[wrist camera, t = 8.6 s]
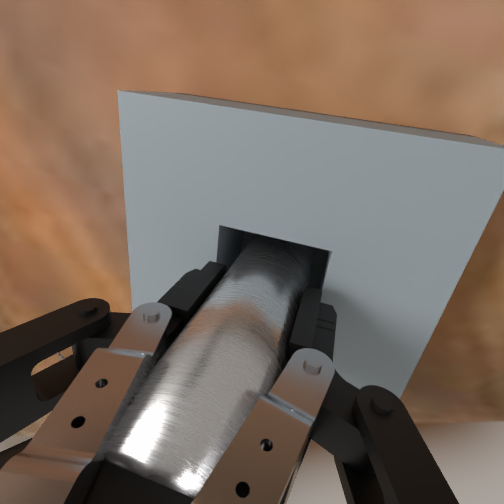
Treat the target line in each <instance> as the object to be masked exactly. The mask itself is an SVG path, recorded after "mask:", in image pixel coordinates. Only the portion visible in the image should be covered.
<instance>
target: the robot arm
mask: <svg viewBox="0 0 504 504" xmlns="http://www.w3.org/2000/svg"><path fill="white" fill-rule="evenodd" d="M226 272H227V266H226V265H224V264H220V263H216V262H213V261H209V262H208V263H207V264H206V265H205V266H204V267H203V268H202V269H201V270H199V269H194V270H191V271H189V272H187V273H185V274H184V275H183V276H182V277H181V278H180V279H179V281H177V282H176V283H175V284H174V286H172V287H171V288H170V289H169V290H168V291H167V292H166V293H165V294H164V295H163V296H162V297H161V298H160V299H159V300H158V301H157V302H151V303H145V304H142V305H140V306H138V307H136V308H135V309H134V310H133V311H132V313H116V312H110V305H109V303H108V302H106V301H105V300H102V299H98V298H89V299H84V300H80V301H77V302H75V303H73V304H70V305H68V306H65V307H63V308H60V309H58V310H55V311H53V312H50V313H48V314H46V315H43V316H41V317H38V318H36V319H33V320H31V321H28V322H26V323H23V324H21V325H19V326H16V327H14V328H11V329H9V330H6V331H4V332H1V333H0V442H2V441H4V440H5V439H7V438H9V437H10V436H12V435H14V434H15V433H17V432H18V431H20V430H22V429H23V428H25V427H26V426H28V425H30V424H31V423H33V422H35V421H36V420H38V419H39V418H41V417H43V416H44V415H46V414H47V413H49V412H51V411H52V412H51V413H50V414H49V416H48V417H47V419H46V420H45V421H44V423H43V424H42V426H41V427H40V429H39V430H38V431H37V433H36V434H35V436H34V437H33V438H31V439H28V440H27V441H24V442H22V443H20V444H17V445H15V446H13V447H11V448H8V449H6V450H4V451H2V452H0V504H286V502H287V500H288V497H289V495H290V492H291V489H292V486H293V484H294V481H295V479H296V476H297V474H298V471H299V469H300V466H301V464H302V461H303V459H304V456H305V454H306V451H307V449H308V447H309V444H310V442H311V439H312V440H313V441H315V442H316V443H318V444H319V445H320V446H322V447H323V448H324V449H326V450H327V451H328V452H330V453H331V454H333V455H334V460H335V464H336V467H337V471H338V474H339V477H340V481H341V484H342V488H343V491H344V495H345V498H346V501H347V504H459V503H458V501H457V499H456V497H455V495H454V494H453V492H452V490H451V488H450V487H449V485H448V483H447V481H446V480H445V478H444V476H443V474H442V472H441V471H440V469H439V467H438V465H437V463H436V461H435V460H434V458H433V456H432V454H431V453H430V451H429V449H428V447H427V445H426V444H425V442H424V440H423V438H422V437H421V435H420V433H419V431H418V429H417V427H416V426H415V424H414V422H413V420H412V419H411V417H410V415H409V413H408V411H407V410H406V408H405V406H404V404H403V403H402V401H401V400H400V399H399V398H398V397H397V396H396V395H395V394H393V393H392V392H391V391H389V390H387V389H385V388H383V387H380V386H376V385H367V386H364V387H362V388H361V389H358V388H357V387H355V386H353V385H352V384H350V383H348V382H347V381H346V380H344V379H343V378H342V377H341V376H340V375H339V374H338V372H337V371H336V369H335V367H334V364H333V353H334V342H335V331H336V322H337V313H336V311H335V309H334V307H333V305H329V304H325V303H321V302H320V301H321V296H322V290H320V289H316V288H312V287H308V286H305V289H304V292H303V296H302V299H301V303H300V306H299V310H298V313H297V317H296V320H295V324H294V328H293V331H292V335H291V338H290V342H289V346H288V350H287V355H286V358H287V365H286V367H285V368H284V370H283V371H282V373H281V375H280V376H279V378H278V379H277V381H276V383H275V384H274V386H273V387H272V389H271V391H270V392H269V394H268V395H267V394H265V393H264V394H263V395H262V396H261V397H260V398H259V400H258V401H257V403H256V404H255V406H254V407H253V409H252V410H251V412H250V414H249V415H248V417H247V418H246V420H245V421H244V423H243V424H242V426H241V427H240V429H239V431H238V432H237V434H236V435H235V437H234V438H233V440H232V441H231V443H230V445H229V446H228V448H227V449H226V451H225V452H224V454H223V455H222V457H221V458H220V460H219V462H218V463H217V465H216V466H215V468H214V469H213V471H212V472H211V474H210V475H209V477H208V479H207V480H206V482H205V483H204V485H203V486H202V488H201V489H200V491H199V492H198V494H197V496H196V497H195V499H194V498H191V497H189V496H187V495H184V494H182V493H180V492H177V491H175V490H173V489H171V488H168V487H166V486H164V485H161V484H159V483H157V482H154V481H152V480H150V479H147V478H145V477H143V476H140V475H138V474H136V473H133V472H131V471H129V470H126V469H124V468H122V467H119V466H117V465H115V464H112V463H110V462H108V461H106V460H103V459H104V450H105V448H106V446H107V444H108V442H109V440H110V439H111V437H112V435H113V433H114V432H115V430H116V428H117V426H118V424H119V423H120V421H121V419H122V417H123V416H124V414H125V412H126V410H127V409H128V407H129V404H130V402H131V400H132V399H133V397H134V396H135V395H136V394H137V392H138V390H139V389H140V387H141V385H142V384H143V382H144V381H145V379H146V378H147V376H148V375H149V373H150V372H151V370H152V369H153V368H154V366H155V365H156V364H157V362H158V361H159V360H160V359H161V357H162V356H163V355H164V353H165V352H166V351H167V349H168V348H169V347H170V345H171V344H172V343H173V341H174V340H175V339H176V338H177V336H178V335H179V334H180V332H181V331H182V330H183V328H184V327H185V326H186V324H187V323H188V322H189V321H190V319H191V318H192V317H193V315H194V314H195V313H196V311H197V310H198V309H199V307H200V306H201V305H202V303H203V302H204V301H205V300H206V298H207V297H208V296H209V294H210V293H211V292H212V290H213V289H214V288H215V286H216V285H217V284H218V283H219V281H220V280H221V279H222V277H223V276H224V275H225V273H226ZM70 346H72V350H73V355H71V356H69V357H67V358H65V359H63V360H61V361H59V362H57V363H55V364H54V365H52V366H50V367H48V368H46V369H44V370H42V371H40V372H38V373H36V374H34V375H32V376H31V372H32V369H33V368H34V367H35V365H36V364H38V363H39V362H41V361H42V360H44V359H46V358H48V357H50V356H52V355H54V354H56V353H58V352H60V351H62V350H64V349H66V348H68V347H70Z"/></svg>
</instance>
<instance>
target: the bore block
mask: <svg viewBox="0 0 504 504" xmlns="http://www.w3.org/2000/svg"><path fill="white" fill-rule="evenodd" d="M117 91H118V106H119V120H120V135H121V149H122V164H123V178H124V193H125V208H126V222H127V237H128V251H129V266H130V280H131V295H132V309H133V310H134V309H135V308H136V307H138V306H140V305H142V304H145V303H151V302H157V301H158V300H159V299H160V298H161V297H162V296H163V295H164V294H165V293H166V292H167V291H168V290H169V289H170V288H171V287H172V286H174V284H175V283H176V282H177V281H179V279H180V278H181V277H182V276H183V275H184V274H185V273H187V272H189V271H191V270H194V269H199V270H201V269H202V268H203V267H204V266H205V265H206V264H207V263H208V262H209V261H213V262H216V263H220V264H224V265H226V266H227V271H228V269H229V268H230V267H231V266H232V264H233V263H234V262H235V260H236V259H237V258H238V256H239V255H240V254H241V252H242V251H243V250H244V248H245V247H246V246H247V245H248V243H249V242H250V241H251V239H252V238H253V237H254V235H256V234H260V235H264V236H269V237H273V238H277V239H281V240H286V241H290V242H294V243H299V244H303V245H307V246H311V247H312V249H313V252H314V267H313V271H312V275H311V279H310V282H309V286H308V287H312V288H316V289H320V290H322V296H321V301H320V302H321V303H325V304H329V305H333V307H334V309H335V311H336V313H337V322H336V331H335V342H334V353H333V364H334V367H335V369H336V371H337V372H338V374H339V375H340V376H341V377H342V378H343V379H344V380H346V381H347V382H348V383H350V384H352V385H353V386H355V387H357V388H358V389H361V388H362V387H364V386H367V385H376V386H380V387H383V388H385V389H387V390H389V391H391V392H392V393H393V394H395V395H396V396H397V397H398V398H399V399H400V397H401V395H402V393H403V391H404V389H405V387H406V385H407V383H408V381H409V379H410V377H411V375H412V373H413V371H414V369H415V367H416V365H417V363H418V361H419V359H420V357H421V355H422V353H423V351H424V349H425V347H426V345H427V343H428V341H429V339H430V337H431V335H432V333H433V331H434V329H435V327H436V325H437V323H438V321H439V319H440V317H441V315H442V313H443V311H444V309H445V307H446V305H447V303H448V301H449V299H450V297H451V295H452V293H453V291H454V289H455V287H456V285H457V283H458V281H459V279H460V277H461V275H462V273H463V271H464V269H465V267H466V265H467V263H468V261H469V259H470V257H471V255H472V253H473V251H474V249H475V247H476V245H477V243H478V241H479V239H480V237H481V235H482V233H483V231H484V229H485V227H486V225H487V223H488V221H489V219H490V217H491V215H492V213H493V211H494V209H495V207H496V205H497V203H498V201H499V199H500V197H501V195H502V193H503V191H504V146H503V145H500V144H497V143H494V142H490V141H487V140H484V139H481V138H477V137H474V136H470V135H464V134H457V133H450V132H443V131H436V130H429V129H423V128H416V127H409V126H402V125H395V124H388V123H382V122H375V121H368V120H361V119H354V118H347V117H340V116H334V115H327V114H320V113H313V112H306V111H299V110H293V109H286V108H279V107H272V106H265V105H258V104H252V103H245V102H238V101H231V100H224V99H217V98H210V97H204V96H197V95H190V94H183V93H168V92H145V91H122V90H117Z"/></svg>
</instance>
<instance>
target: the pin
mask: <svg viewBox="0 0 504 504" xmlns="http://www.w3.org/2000/svg"><path fill="white" fill-rule="evenodd" d="M313 267H314V252H313V249H312V247H311V246H307V245H303V244H299V243H294V242H290V241H286V240H281V239H277V238H273V237H269V236H264V235H260V234H256V235H254V237H253V238H252V239H251V241H250V242H249V243H248V245H247V246H246V247H245V248H244V250H243V251H242V252H241V254H240V255H239V256H238V258H237V259H236V260H235V262H234V263H233V264H232V266H231V267H230V268H229V269H228V271H227V272H226V273H225V275H224V276H223V277H222V279H221V280H220V281H219V283H218V284H217V285H216V286H215V288H214V289H213V290H212V292H211V293H210V294H209V296H208V297H207V298H206V300H205V301H204V302H203V303H202V305H201V306H200V307H199V309H198V310H197V311H196V313H195V314H194V315H193V317H192V318H191V319H190V321H189V322H188V323H187V324H186V326H185V327H184V328H183V330H182V331H181V332H180V334H179V335H178V336H177V338H176V339H175V340H174V341H173V343H172V344H171V345H170V347H169V348H168V349H167V351H166V352H165V353H164V355H163V356H162V357H161V359H160V360H159V361H158V362H157V364H156V365H155V366H154V368H153V369H152V370H151V372H150V373H149V375H148V376H147V378H146V379H145V381H144V382H143V384H142V385H141V387H140V389H139V390H138V392H137V394H136V395H135V396H134V397H133V399H132V400H131V402H130V404H129V407H128V409H127V410H126V412H125V414H124V416H123V417H122V419H121V421H120V423H119V424H118V426H117V428H116V430H115V432H114V433H113V435H112V437H111V439H110V440H109V442H108V444H107V446H106V448H105V450H104V459H103V460H106V461H108V462H110V463H112V464H115V465H117V466H119V467H122V468H124V469H126V470H129V471H131V472H133V473H136V474H138V475H140V476H143V477H145V478H147V479H150V480H152V481H154V482H157V483H159V484H161V485H164V486H166V487H168V488H171V489H173V490H175V491H177V492H180V493H182V494H184V495H187V496H189V497H191V498H194V499H195V497H196V496H197V494H198V492H199V491H200V489H201V488H202V486H203V485H204V483H205V482H206V480H207V479H208V477H209V475H210V474H211V472H212V471H213V469H214V468H215V466H216V465H217V463H218V462H219V460H220V458H221V457H222V455H223V454H224V452H225V451H226V449H227V448H228V446H229V445H230V443H231V441H232V440H233V438H234V437H235V435H236V434H237V432H238V431H239V429H240V427H241V426H242V424H243V423H244V421H245V420H246V418H247V417H248V415H249V414H250V412H251V410H252V409H253V407H254V406H255V404H256V403H257V401H258V400H259V398H260V397H261V396H262V395H263V394H264V393H265V394H267V395H268V394H269V392H270V391H271V389H272V387H273V386H274V384H275V383H276V381H277V379H278V378H279V376H280V375H281V373H282V371H283V370H284V368H285V367H286V365H287V358H286V355H287V350H288V346H289V342H290V338H291V335H292V331H293V328H294V324H295V320H296V317H297V313H298V310H299V306H300V303H301V299H302V296H303V292H304V289H305V286H309V282H310V279H311V275H312V271H313Z"/></svg>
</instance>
